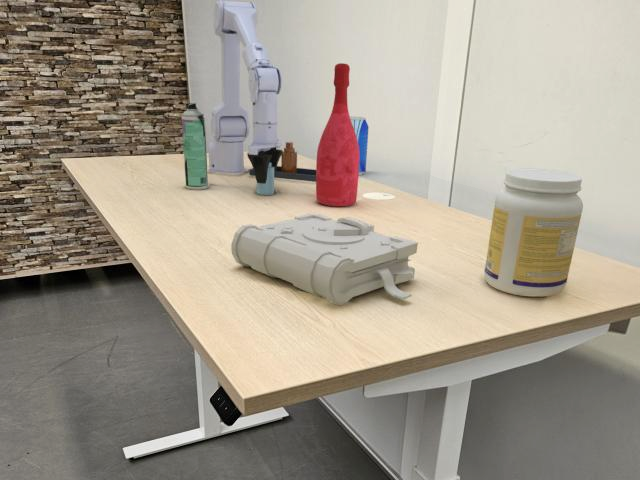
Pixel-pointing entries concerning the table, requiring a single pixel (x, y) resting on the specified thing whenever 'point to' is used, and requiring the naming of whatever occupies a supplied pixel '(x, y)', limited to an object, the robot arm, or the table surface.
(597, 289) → the table surface
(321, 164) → the wine bottle
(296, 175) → the tray
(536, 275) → the supplement tub
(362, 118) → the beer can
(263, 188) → the blue bottle
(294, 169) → the bottle row
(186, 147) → the spray can
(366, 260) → the book
